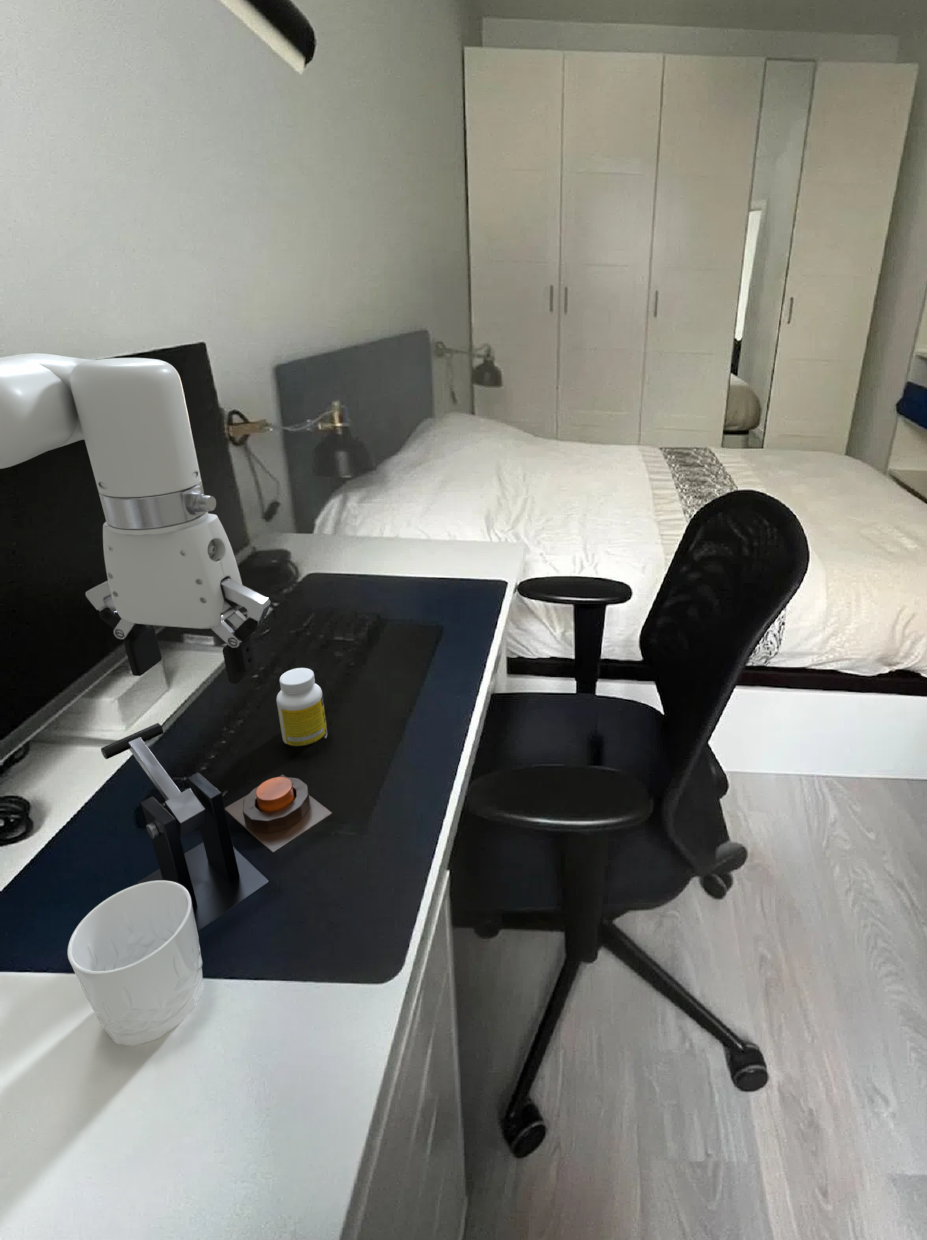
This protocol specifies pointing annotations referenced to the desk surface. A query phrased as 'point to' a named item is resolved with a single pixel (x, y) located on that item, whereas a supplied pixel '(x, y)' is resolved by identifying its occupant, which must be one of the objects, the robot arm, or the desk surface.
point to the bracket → (202, 857)
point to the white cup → (140, 961)
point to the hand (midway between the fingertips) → (195, 672)
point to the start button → (275, 794)
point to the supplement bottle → (301, 708)
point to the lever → (161, 779)
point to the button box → (279, 816)
